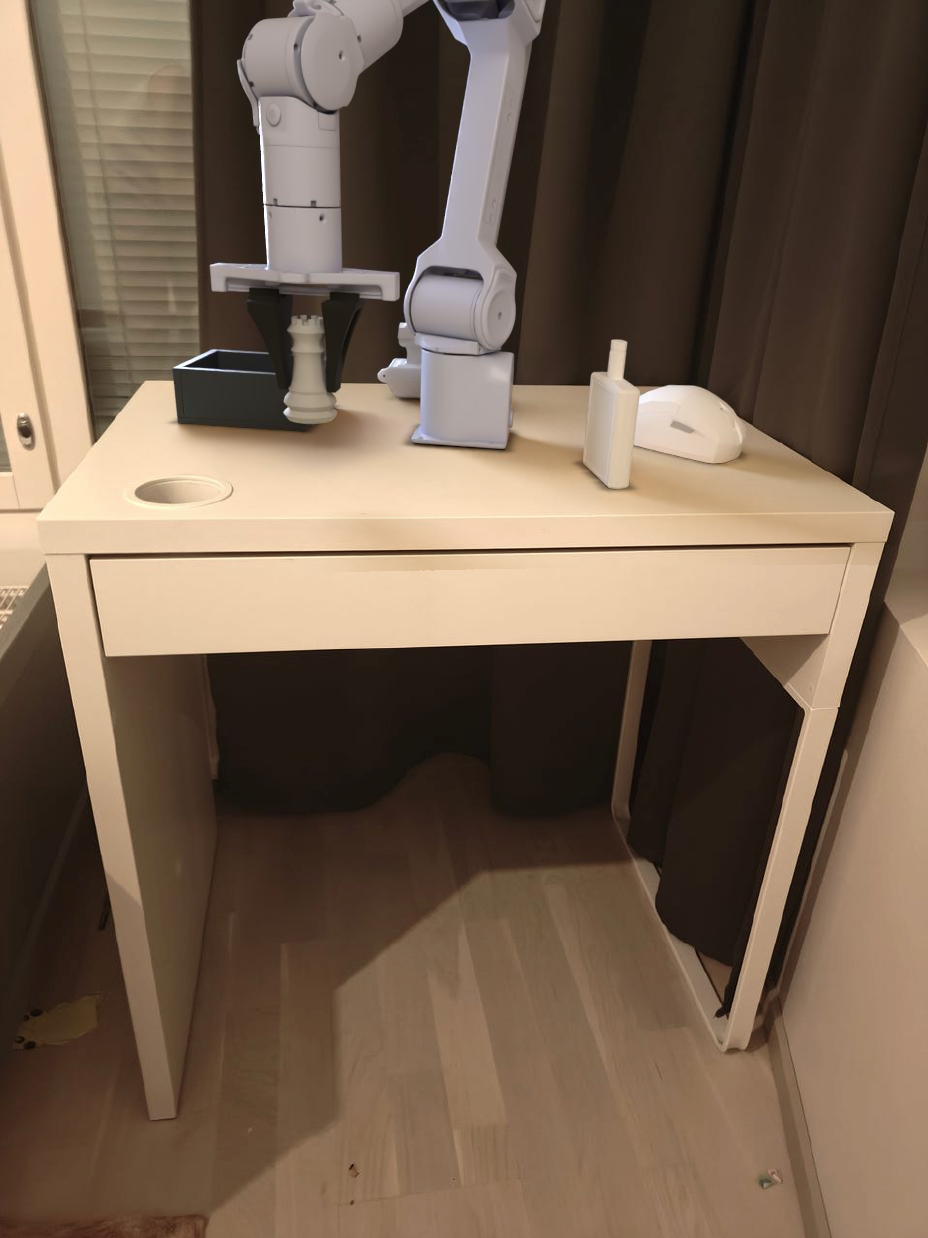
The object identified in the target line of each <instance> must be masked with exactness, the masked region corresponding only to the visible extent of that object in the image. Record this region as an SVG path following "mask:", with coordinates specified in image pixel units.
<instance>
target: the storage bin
mask: <svg viewBox="0 0 928 1238" xmlns="http://www.w3.org/2000/svg"><path fill="white" fill-rule="evenodd" d="M292 359H293V366H294V357H293V353H292ZM324 365H325V371H326V355H324ZM171 369H172V379H173V390H174V399H175V401H174V402H175V409H176V410H175V411H176V417H177V418H176V420H177V423H178V424H190V425H204V426H205V425H207V426H221V427H235V428H248V429H261V430H262V429H264V430H265V429H266V430H277V431H292V432H296V431H297V432H307V431H308V430H309V429H310V428H311V427H312V426H313V425H314V424H303V423H296V422H293V421H290V420H289V419H288V418H287V417H286V416H285V414H284V413H283V412H284V411H285V410H286V409H287V408H288V406H287V405H286V404H285V403H284V398H285V396H286V395H287V393H288V392H289V388H288V389H287V390H281V389H278V384H277V380H276V375H275V372H274V368H273V365H272V362H271V359H270V356H269V353H268V352H264V351H263V352H262V351H249V350H247V351H246V350H231V349H219V348H218V349H215V348H212V349H210V350H208V351H206V352H204V353H202V354H199V355H197V356H195V357H193V358H191V359H189V360H187V361H185V362H182V363H180V364H178V365H176V366H173V367H172V368H171Z"/></svg>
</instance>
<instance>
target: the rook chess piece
mask: <svg viewBox="0 0 928 1238" xmlns="http://www.w3.org/2000/svg"><path fill="white" fill-rule="evenodd" d="M299 317H300V318H299ZM310 317H311V319H309V318H307V315H306V314H300V315H292V317H291V325H290V326H289V328H288V329H287V331H288V332H289V334H290V335H291V339H292V346H291V351H292V354H293V357H294V366H293V377H292V382H291V386H290V387H289V392H288V393H287V395H286V396H285V398H284V403H285V404H286V405H287V406H288V408H287V409H286V410H285V411H284V412H283V413H284V414H285V416H286V417H287V418H288V419H289V420H290V421H293V422H296V423H303V424H313V425H315V424H326V423H329V422H332V421H334V419H335V418H336V417H337V415H338V413H339V411H338V410H336V409H335V408H334V407H335V405H336V404H337V401H338V399H337V398H336V396H335V395H334V393H329V392H327V389H326V371H325V365H324V356H325V353H326V346H324V339H325V331H324V323H323V316H318V315H313V314H312V315H311V316H310Z"/></svg>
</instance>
